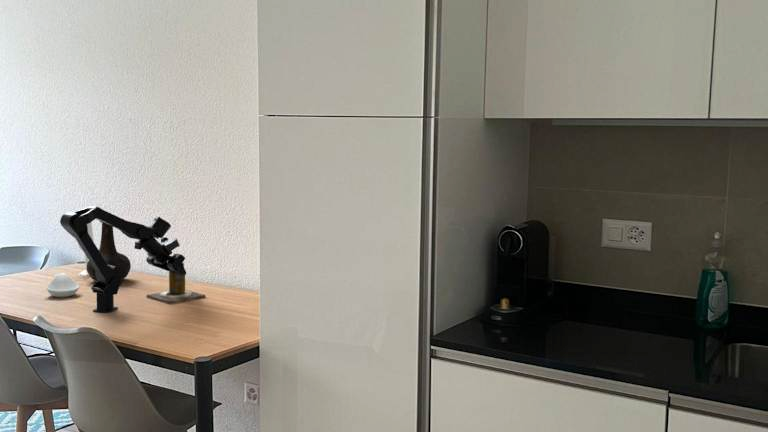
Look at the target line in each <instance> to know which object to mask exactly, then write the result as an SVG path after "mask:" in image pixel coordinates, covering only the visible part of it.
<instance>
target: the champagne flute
mask: <svg viewBox="0 0 768 432" xmlns="http://www.w3.org/2000/svg"><path fill="white" fill-rule="evenodd" d="M87 226H88V234H89V235H90V237H91V239H92V240H93V242H94V243H95V239H94V232H93V224H92V222H91V223H89V224H87ZM77 246H78V248H79V249H80V250H81V251H82V252H83V253H84V251H83V250H82V248H81V247H80V245H79V244H78V243H77ZM84 255H85V254H84ZM84 260H85V265H84V266H85V269H84V270H83V271H81V272H80V273H79V275H80V274H81V275H80V276H89V274H88V272H87V263H88V261H89V259H88V258H87V256H86V255H85V257H84Z"/></svg>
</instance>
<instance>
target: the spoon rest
mask: <svg viewBox="0 0 768 432" xmlns="http://www.w3.org/2000/svg"><path fill="white" fill-rule="evenodd" d="M79 289H80V284H78V283H77V282H76V281H75V280H74V279H73V278H71V277H70V276H69V275H68V274H67V273H66V272H62V273H55V275H54V277H53V278H52V280H51V281H50V282H49V283H48V285H46V290H47V292H48V293H49V294H50V296H53V297H56V298H69V297H71V296H73V295H75V294H77V292H78V291H79ZM68 296H69V297H68Z"/></svg>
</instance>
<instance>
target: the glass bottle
mask: <svg viewBox="0 0 768 432" xmlns="http://www.w3.org/2000/svg"><path fill="white" fill-rule="evenodd" d="M99 223H101V233H100V234H101V235H100V244H99V248H98V250H99V252H100V253H101V255H102V256H103V258H104V260H105V261H106V263H107V264H108V265H110V266H114V267H116V268H117V269H118V272H119V273H120V274H121V275H122V276H120V277H121V279H122V281H123V280H124V279H126V277H127V276H128V275H129V273H130V271H131V267H132V265H131V264H132V263H131V261H130V259H129V258H128V256H126V255H125V254H123V253H121V252H118V250H117V248H116V245H115V244H116V243H115V236H114V235H115V234H114V227H113V226H111V225H108V224H106V223H104V222H102V221H99ZM87 272H88V274H89V275H88V276H89V277H90V278H91V279H92V280H93V281H94V282H96V281H97V279H96V274H95V269H94V267H93V266H92V264H91V263H90V261H89V260H88V263H87Z"/></svg>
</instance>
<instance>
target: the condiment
mask: <svg viewBox="0 0 768 432" xmlns="http://www.w3.org/2000/svg"><path fill="white" fill-rule="evenodd" d="M184 265H185V264H184V262H183V266H184ZM184 267H185V266H184ZM168 284H169V285H168V290H167V291H168V293H167V294H166V296H185V294H186V293H187V291H185V290H186V275H183V274H180V273H178V272H175V271H172V270H171V269H170V270H169V271H168Z"/></svg>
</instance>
